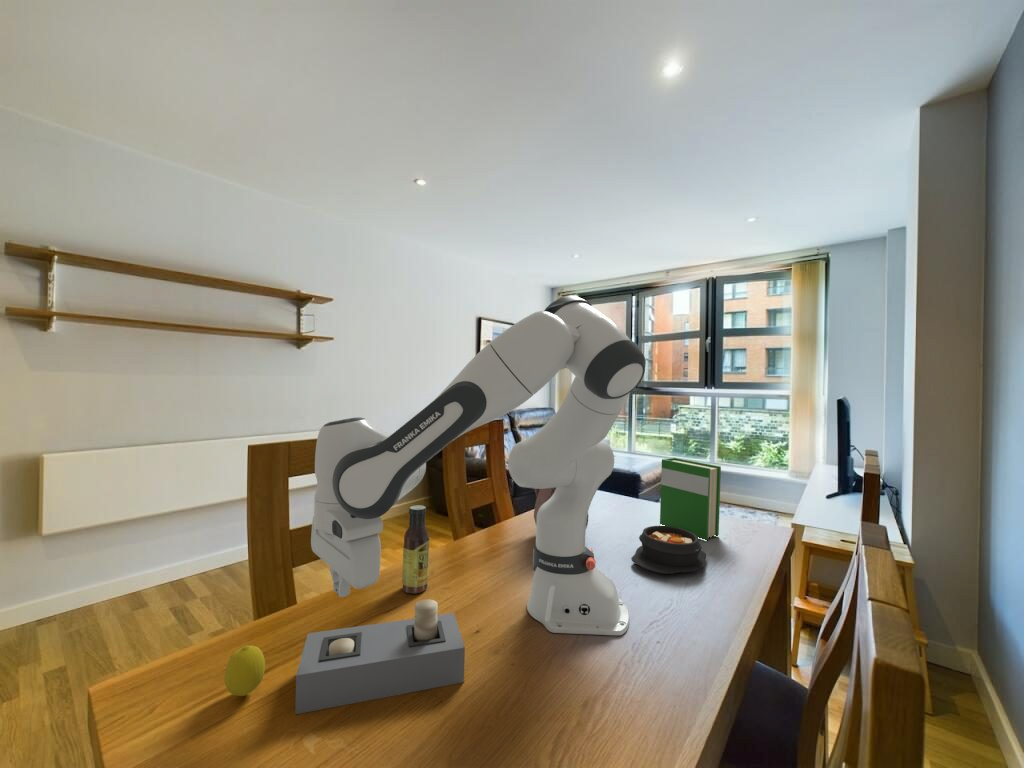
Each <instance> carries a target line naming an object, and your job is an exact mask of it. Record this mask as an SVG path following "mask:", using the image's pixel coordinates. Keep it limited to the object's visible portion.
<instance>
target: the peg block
mask: <svg viewBox="0 0 1024 768" xmlns="http://www.w3.org/2000/svg"><path fill="white" fill-rule="evenodd" d="M414 623H415V617H414V618H408V619H401V620H395V621H387V622H380V623H379V622H378V623H372V624H366V625H364V624H363V625H358V626H351V627H343V628H338V629H337V628H336V629H331V630H330V629H329V630H324V631H323V630H322V631H316V632H309V633H307V635H306V639H305V643H304V646H303V649H302V652H301V657H300V661H299V663H298V667H297V671H296V676H295V715H298V714H304V713H309V712H314V711H321V710H324V709H326V710H327V709H330V708H336V707H340V706H341V707H342V706H346V705H352V704H357V703H362V702H367V701H373V700H376V699H377V700H378V699H384V698H388V697H393V696H398V695H404V694H410V693H415V692H418V691H419V692H420V691H424V690H430V689H437V688H441V687H446V686H450V685H457V684H461V683H465V653H466V651H465V650H466V648H465V644H464V641H463V636H462V634H461V631H460V628H459V624H458V621H457V618H456V615H455V613H454V612H452V613H451V612H449V613H443V614H438V615H437V639H433V640H426V641H420V642H415V640H414ZM341 638H350V639H352V640H353V641H354V652H350V653H344V654H337V655H331V656H329V645H330V644H331V643H332V642H333V641H335V640H338V639H341Z"/></svg>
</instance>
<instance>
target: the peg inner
mask: <svg viewBox="0 0 1024 768" xmlns="http://www.w3.org/2000/svg"><path fill="white" fill-rule="evenodd" d="M438 609H439V605H438V602H437V601H436V600H434V599H429V598H428V599H427V598H426V599H421V600H418V601H417V602H415V605H414V618H415V623H414V640H415V642H420V641H426V640H433V639H437V615H439V614H438V611H439V610H438Z"/></svg>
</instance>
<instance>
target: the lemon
mask: <svg viewBox="0 0 1024 768" xmlns="http://www.w3.org/2000/svg"><path fill="white" fill-rule="evenodd" d="M265 660H266V659H265V657H264V653H263V651H262V650H261V648H259V647H257V646H255V645H247V644H246V645H244V646H243V647H240V648H239V649H237V650H236V651H235V652H233V654H231V656H230V657H229V660H228V661H227V663H226V667H225V671H224V672H225V673H224V684H225V687H226V689H227V691H228V692H229V693H230V694H231V695H234V696H237V697H239V696H240V697H241V696H242V697H246V696H247V695H248V694H250V693H252V692H253V691H254V690H256V689H257V687H259V685H260V683H261V682H262V681H263V678H264V676H265V671H266V661H265Z"/></svg>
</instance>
